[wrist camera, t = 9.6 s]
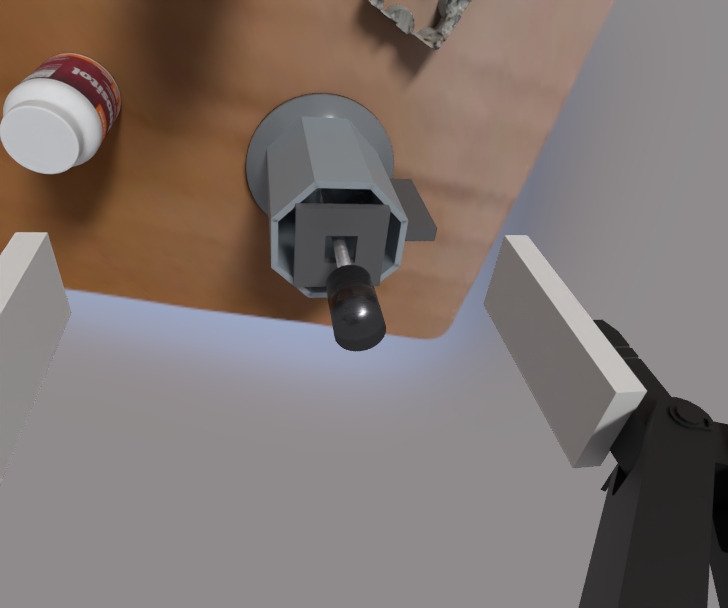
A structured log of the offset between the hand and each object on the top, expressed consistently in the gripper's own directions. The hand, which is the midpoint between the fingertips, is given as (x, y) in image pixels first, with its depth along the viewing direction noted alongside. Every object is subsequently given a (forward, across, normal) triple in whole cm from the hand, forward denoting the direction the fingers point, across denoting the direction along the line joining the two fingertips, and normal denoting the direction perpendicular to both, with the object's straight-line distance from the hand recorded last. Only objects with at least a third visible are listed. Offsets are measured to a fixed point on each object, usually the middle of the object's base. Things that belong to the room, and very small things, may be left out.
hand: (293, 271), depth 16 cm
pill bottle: (+35, -15, -6) cm, 38 cm away
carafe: (+34, +6, -12) cm, 37 cm away
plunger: (+31, +5, -12) cm, 34 cm away
